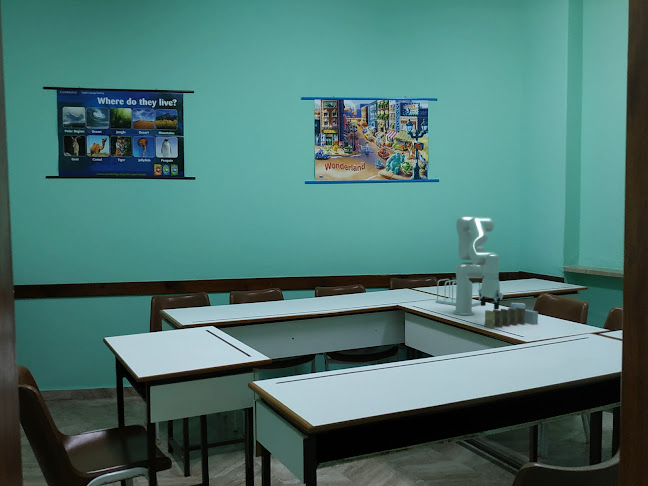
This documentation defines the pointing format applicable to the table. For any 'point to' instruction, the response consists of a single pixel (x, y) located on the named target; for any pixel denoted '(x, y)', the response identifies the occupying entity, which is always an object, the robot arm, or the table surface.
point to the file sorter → (451, 300)
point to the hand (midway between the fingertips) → (489, 307)
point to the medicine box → (518, 305)
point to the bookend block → (531, 317)
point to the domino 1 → (489, 319)
